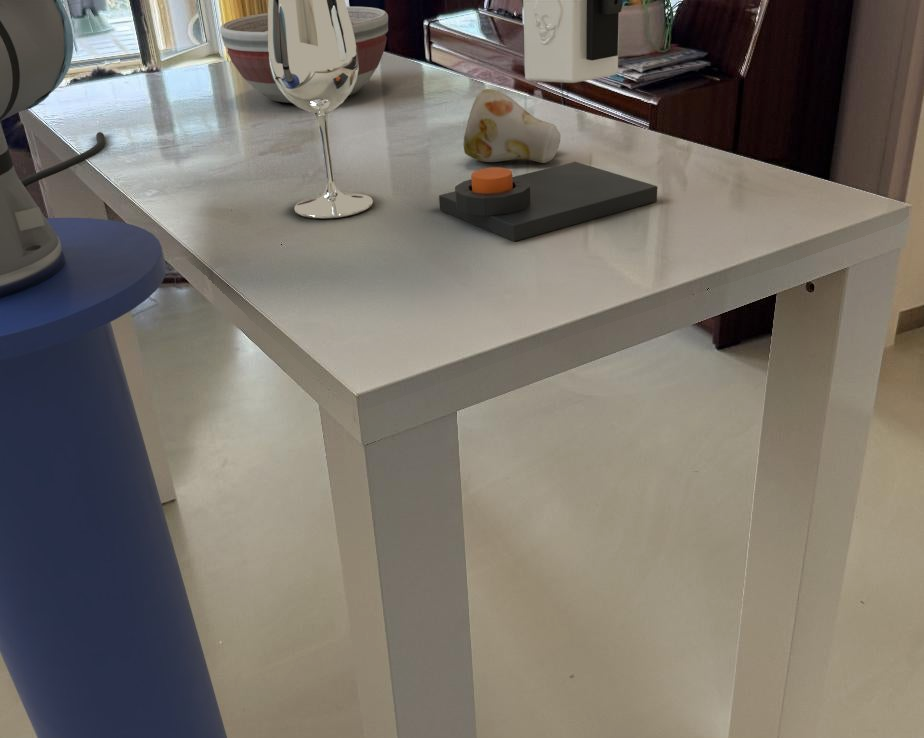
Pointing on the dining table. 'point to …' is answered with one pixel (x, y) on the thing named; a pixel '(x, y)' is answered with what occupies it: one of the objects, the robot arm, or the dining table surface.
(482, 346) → the dining table surface
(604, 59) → the jar
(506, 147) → the fruit sandwich
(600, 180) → the scale
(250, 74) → the bowl
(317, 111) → the wineglass
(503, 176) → the button
